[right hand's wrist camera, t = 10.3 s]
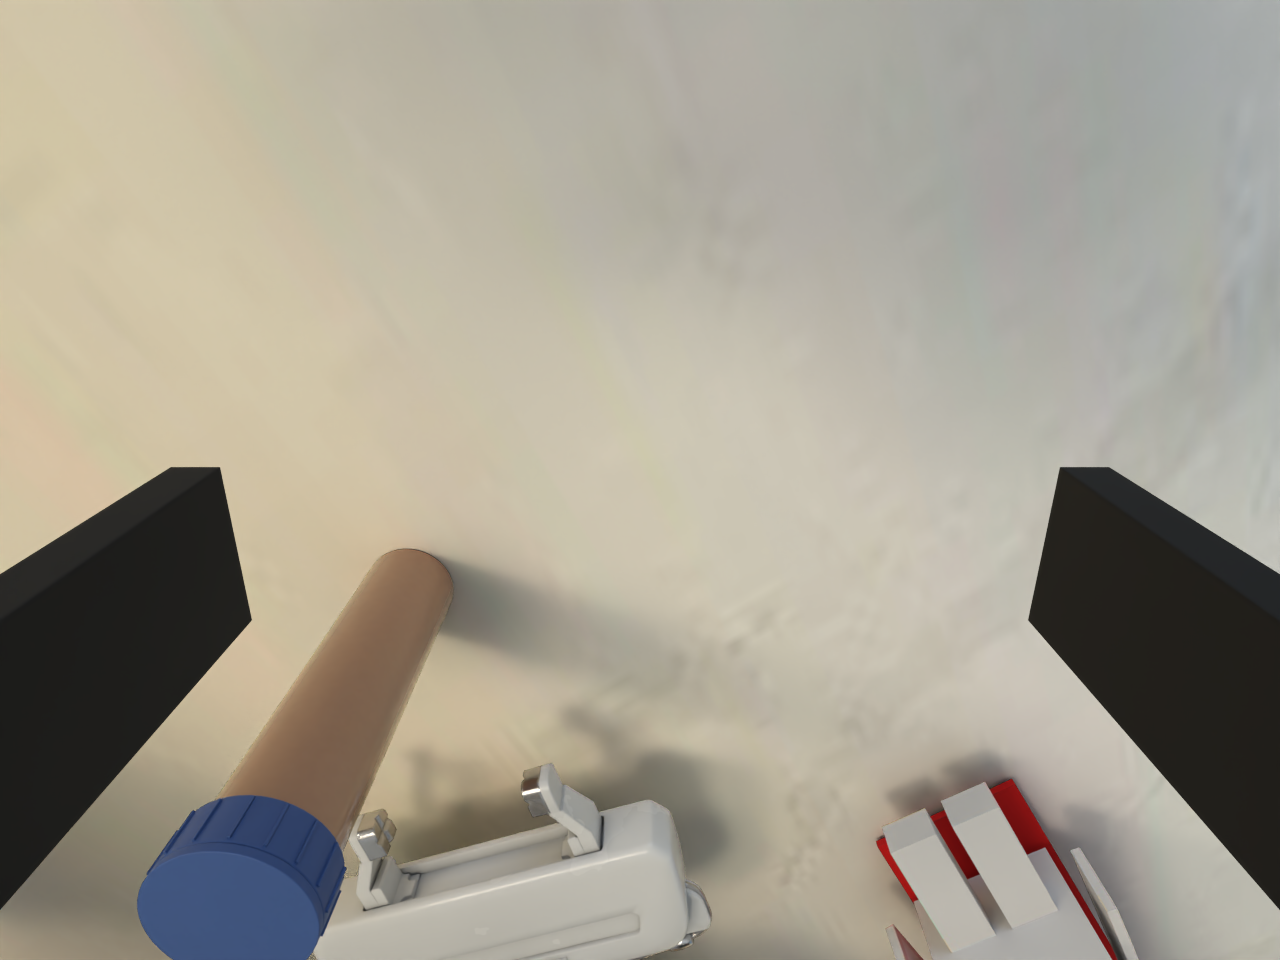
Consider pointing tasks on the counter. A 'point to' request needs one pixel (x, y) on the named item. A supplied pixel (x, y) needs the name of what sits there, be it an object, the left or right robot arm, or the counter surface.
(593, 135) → the counter surface
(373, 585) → the jar
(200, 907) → the lid
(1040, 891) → the toy
